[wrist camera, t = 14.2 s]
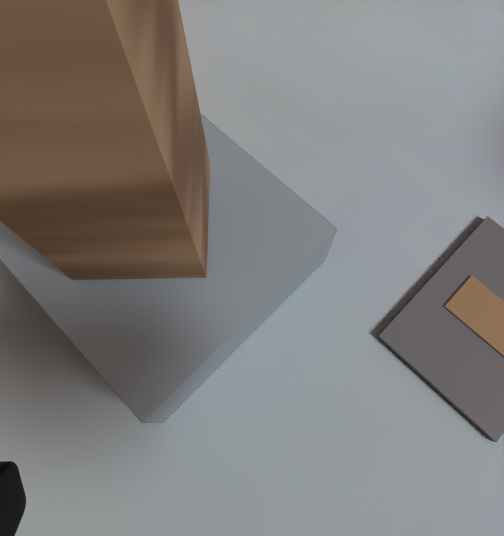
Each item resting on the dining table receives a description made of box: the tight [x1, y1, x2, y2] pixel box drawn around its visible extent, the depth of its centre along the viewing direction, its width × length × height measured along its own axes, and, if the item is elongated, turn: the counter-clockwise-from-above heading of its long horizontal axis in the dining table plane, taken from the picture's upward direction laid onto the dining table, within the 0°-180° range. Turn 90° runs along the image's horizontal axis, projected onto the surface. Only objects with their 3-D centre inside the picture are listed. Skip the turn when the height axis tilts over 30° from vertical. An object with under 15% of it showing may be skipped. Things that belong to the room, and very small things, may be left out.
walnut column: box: [0, 0, 210, 280], centre depth 11 cm, size 5×5×13 cm
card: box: [378, 216, 504, 442], centre depth 19 cm, size 8×6×1 cm
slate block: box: [0, 114, 337, 423], centre depth 19 cm, size 10×10×4 cm
